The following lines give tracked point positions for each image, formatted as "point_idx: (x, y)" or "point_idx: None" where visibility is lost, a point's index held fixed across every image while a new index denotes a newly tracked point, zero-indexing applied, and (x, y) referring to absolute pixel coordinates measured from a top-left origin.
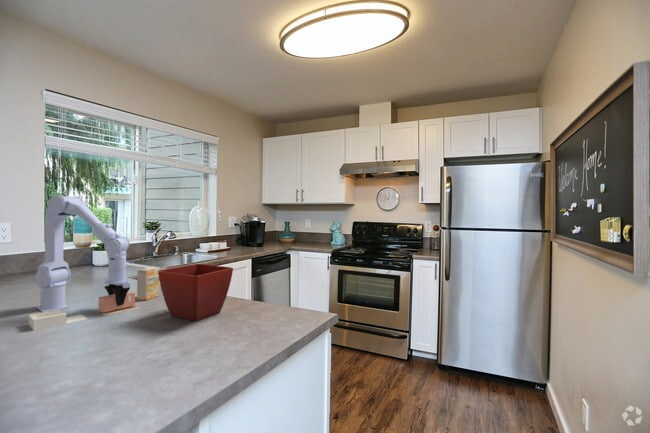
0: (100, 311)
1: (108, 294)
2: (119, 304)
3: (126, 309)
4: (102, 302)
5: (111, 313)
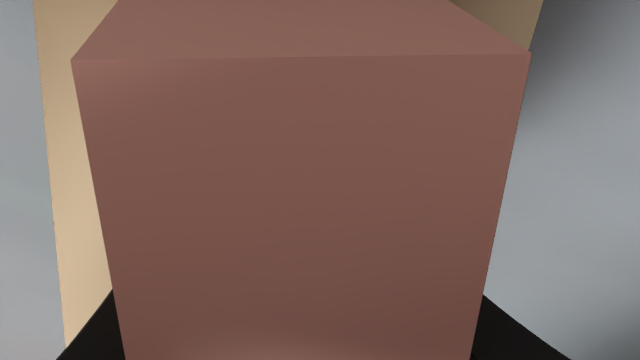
0: None
1: (557, 356)
2: None
3: None
4: (198, 18)
5: None
